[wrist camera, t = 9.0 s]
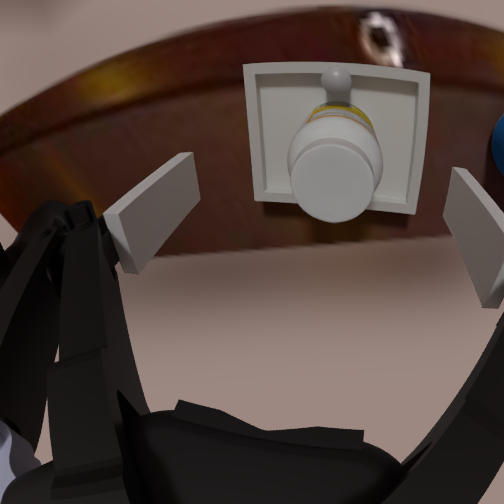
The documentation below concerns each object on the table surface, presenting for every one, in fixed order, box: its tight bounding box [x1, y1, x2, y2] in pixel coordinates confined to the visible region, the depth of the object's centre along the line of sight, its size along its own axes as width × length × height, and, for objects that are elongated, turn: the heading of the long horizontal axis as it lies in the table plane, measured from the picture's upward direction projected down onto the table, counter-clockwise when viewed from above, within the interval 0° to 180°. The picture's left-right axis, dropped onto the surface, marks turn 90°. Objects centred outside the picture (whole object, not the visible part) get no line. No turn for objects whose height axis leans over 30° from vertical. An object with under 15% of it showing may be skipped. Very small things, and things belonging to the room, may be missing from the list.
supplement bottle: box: [287, 101, 383, 222], centre depth 17 cm, size 5×5×10 cm
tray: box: [243, 62, 430, 223], centre depth 20 cm, size 13×11×5 cm
